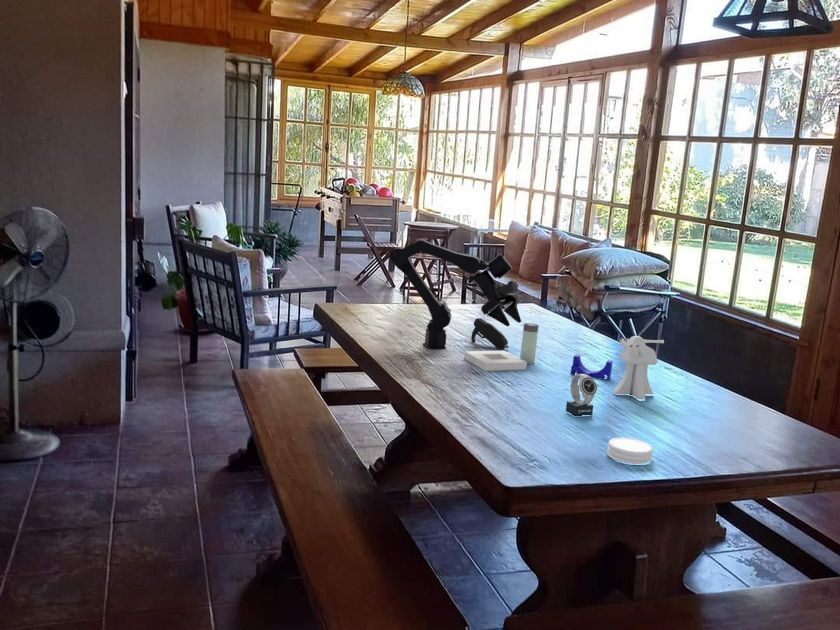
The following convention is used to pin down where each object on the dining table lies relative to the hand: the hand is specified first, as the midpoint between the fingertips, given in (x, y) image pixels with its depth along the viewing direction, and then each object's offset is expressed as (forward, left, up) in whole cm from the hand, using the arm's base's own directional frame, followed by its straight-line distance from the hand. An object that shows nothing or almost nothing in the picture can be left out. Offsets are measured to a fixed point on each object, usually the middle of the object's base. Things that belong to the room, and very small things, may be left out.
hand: (514, 323), depth 261 cm
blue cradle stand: (+16, -23, -13) cm, 31 cm away
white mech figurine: (+17, -44, -12) cm, 49 cm away
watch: (-12, -57, -12) cm, 59 cm away
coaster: (-19, -87, -13) cm, 90 cm away
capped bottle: (+3, -5, -12) cm, 14 cm away
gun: (+1, +18, -12) cm, 22 cm away
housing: (-10, -6, -12) cm, 17 cm away
